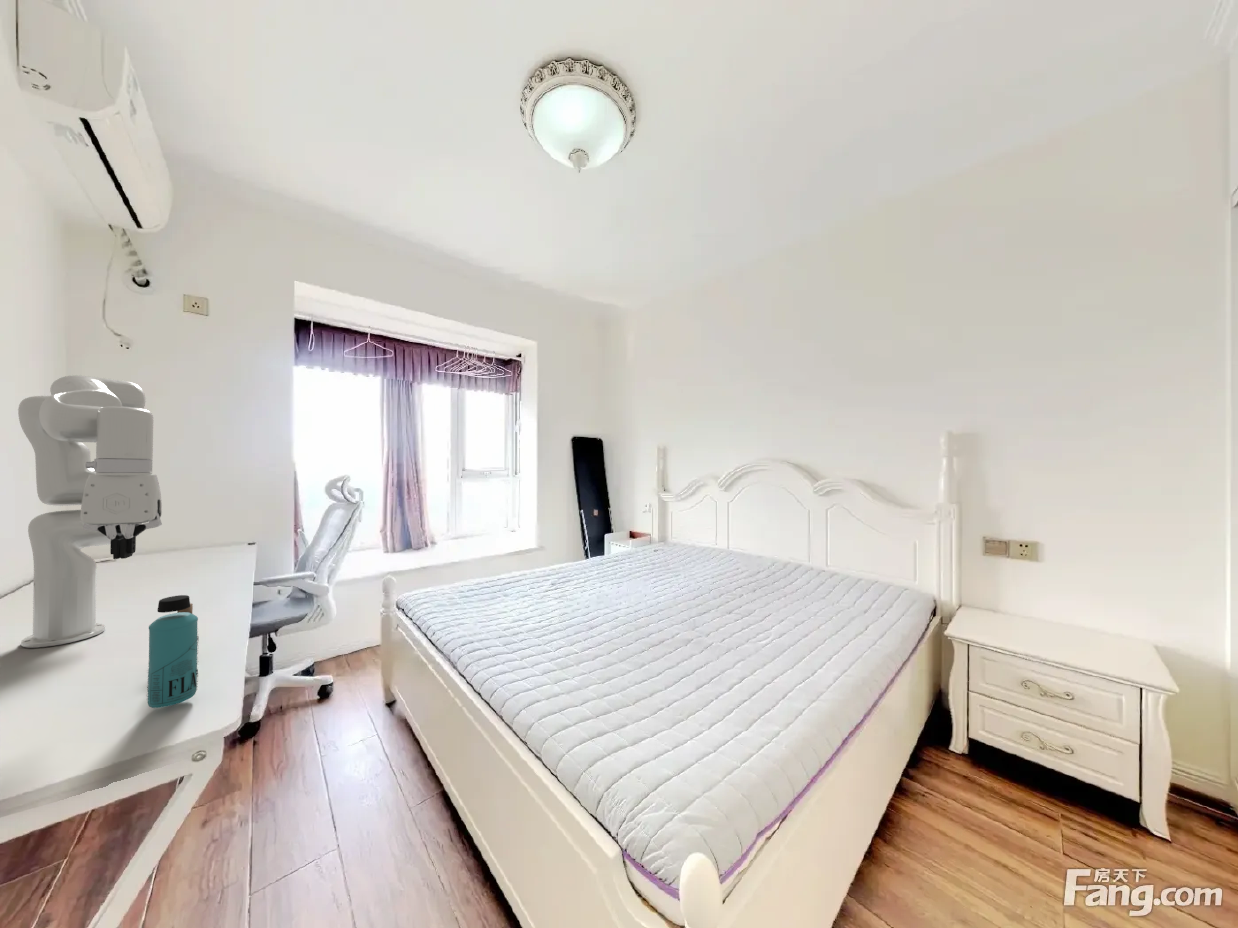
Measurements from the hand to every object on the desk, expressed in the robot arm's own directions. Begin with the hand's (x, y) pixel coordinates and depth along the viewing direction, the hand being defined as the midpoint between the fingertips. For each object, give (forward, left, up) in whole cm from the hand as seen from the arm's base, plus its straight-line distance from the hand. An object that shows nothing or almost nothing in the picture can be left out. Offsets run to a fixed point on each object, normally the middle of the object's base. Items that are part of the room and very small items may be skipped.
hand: (123, 557), depth 86 cm
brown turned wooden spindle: (-6, +8, -25) cm, 27 cm away
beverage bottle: (+19, +12, -25) cm, 34 cm away
